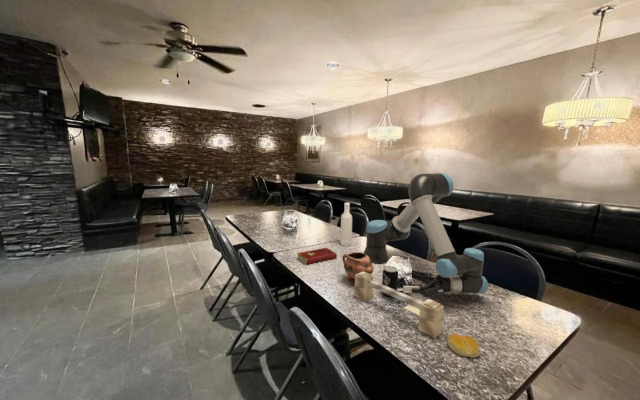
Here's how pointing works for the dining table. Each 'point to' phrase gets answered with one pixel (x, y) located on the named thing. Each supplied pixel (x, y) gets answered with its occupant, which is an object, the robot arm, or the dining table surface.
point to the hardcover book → (317, 256)
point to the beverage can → (390, 278)
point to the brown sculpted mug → (356, 265)
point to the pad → (413, 308)
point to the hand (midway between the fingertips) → (399, 281)
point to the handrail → (428, 309)
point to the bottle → (346, 226)
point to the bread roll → (464, 345)
